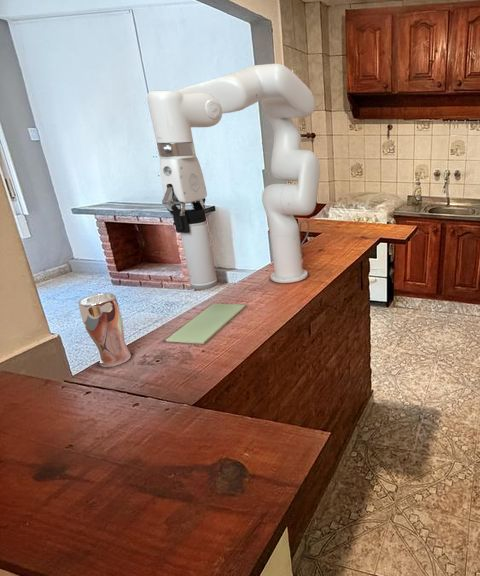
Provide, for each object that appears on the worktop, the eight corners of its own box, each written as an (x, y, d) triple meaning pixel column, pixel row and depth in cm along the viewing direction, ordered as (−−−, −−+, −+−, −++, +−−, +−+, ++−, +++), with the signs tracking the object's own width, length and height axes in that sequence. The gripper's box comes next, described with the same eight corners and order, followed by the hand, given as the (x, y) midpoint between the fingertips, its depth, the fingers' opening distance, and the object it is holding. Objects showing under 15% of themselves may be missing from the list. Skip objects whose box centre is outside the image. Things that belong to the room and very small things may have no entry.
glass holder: (276, 256, 160) (272, 220, 155) (304, 248, 170) (301, 214, 165) (289, 260, 155) (285, 223, 150) (317, 252, 165) (314, 216, 160)
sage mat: (213, 304, 117) (213, 303, 117) (245, 306, 116) (245, 304, 116) (165, 341, 97) (165, 339, 97) (203, 343, 96) (203, 342, 95)
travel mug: (185, 289, 100) (168, 210, 92) (201, 280, 106) (186, 205, 98) (207, 291, 99) (192, 210, 91) (222, 282, 105) (209, 205, 97)
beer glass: (89, 365, 87) (68, 303, 82) (118, 349, 94) (101, 290, 88) (112, 370, 85) (92, 307, 80) (140, 354, 91) (123, 294, 86)
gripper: (167, 153, 82) (185, 238, 88) (212, 149, 98) (224, 221, 104) (134, 153, 83) (154, 237, 89) (184, 149, 99) (198, 220, 105)
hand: (192, 228), depth 97 cm, fingers closed on travel mug, 6 cm apart
